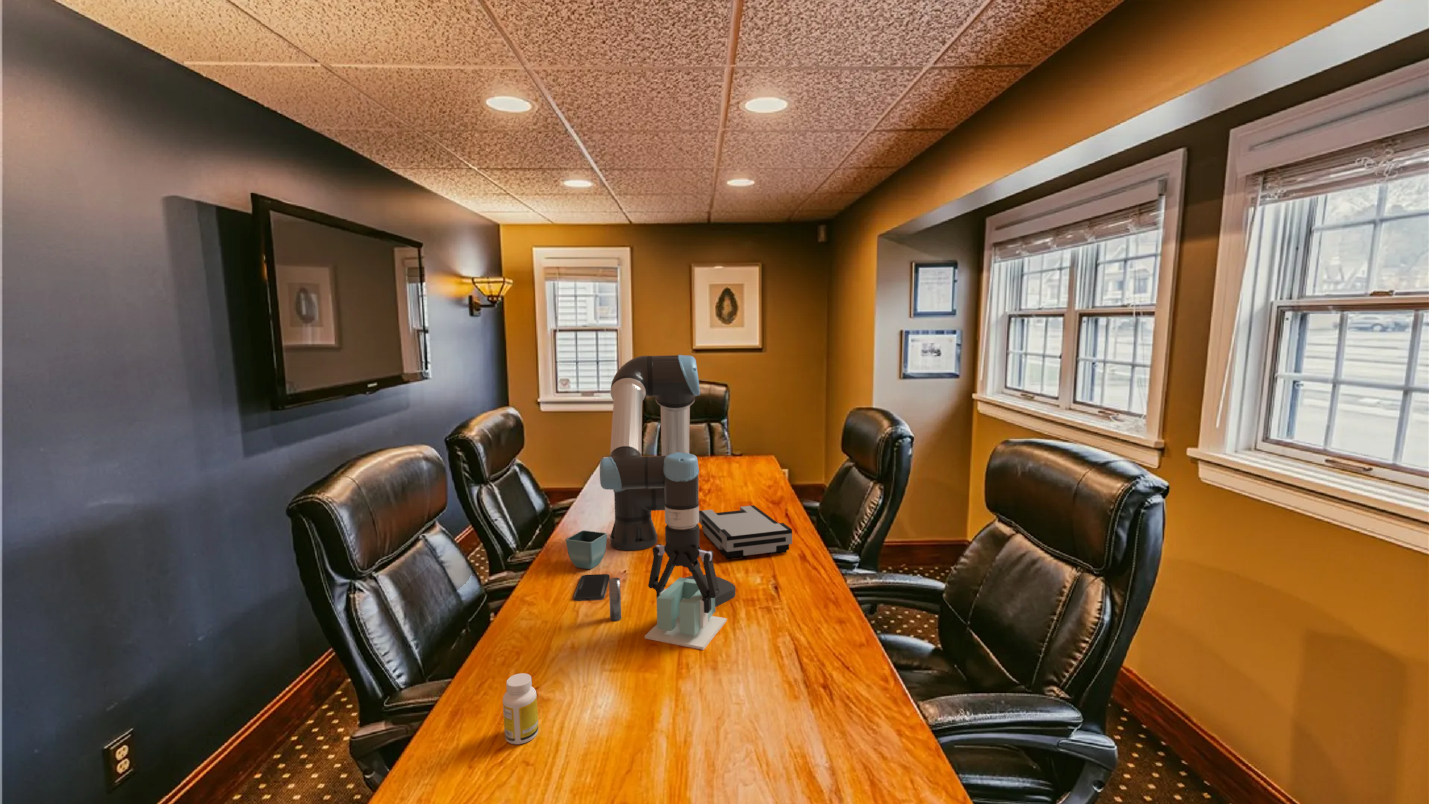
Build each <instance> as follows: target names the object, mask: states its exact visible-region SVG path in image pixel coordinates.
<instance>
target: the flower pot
mask: <svg viewBox="0 0 1429 804" xmlns="http://www.w3.org/2000/svg"><path fill="white" fill-rule="evenodd" d="M607 538H608V533H606V532H599V531H591V530H581V531H579V532H577V533H575V534H573V535H572V536H569V537H567V538H566V539H565V543H566V548H567V553H568V556H569V559H570V562H572V564H573V565H574V567H575V568H579V569H586V570H592V569H593V568H594V567H595V568H596V566H598V565H600V564H601V562H602V560H603V558H604V556H605V554H606V548H607V541H608V540H607Z"/></svg>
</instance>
